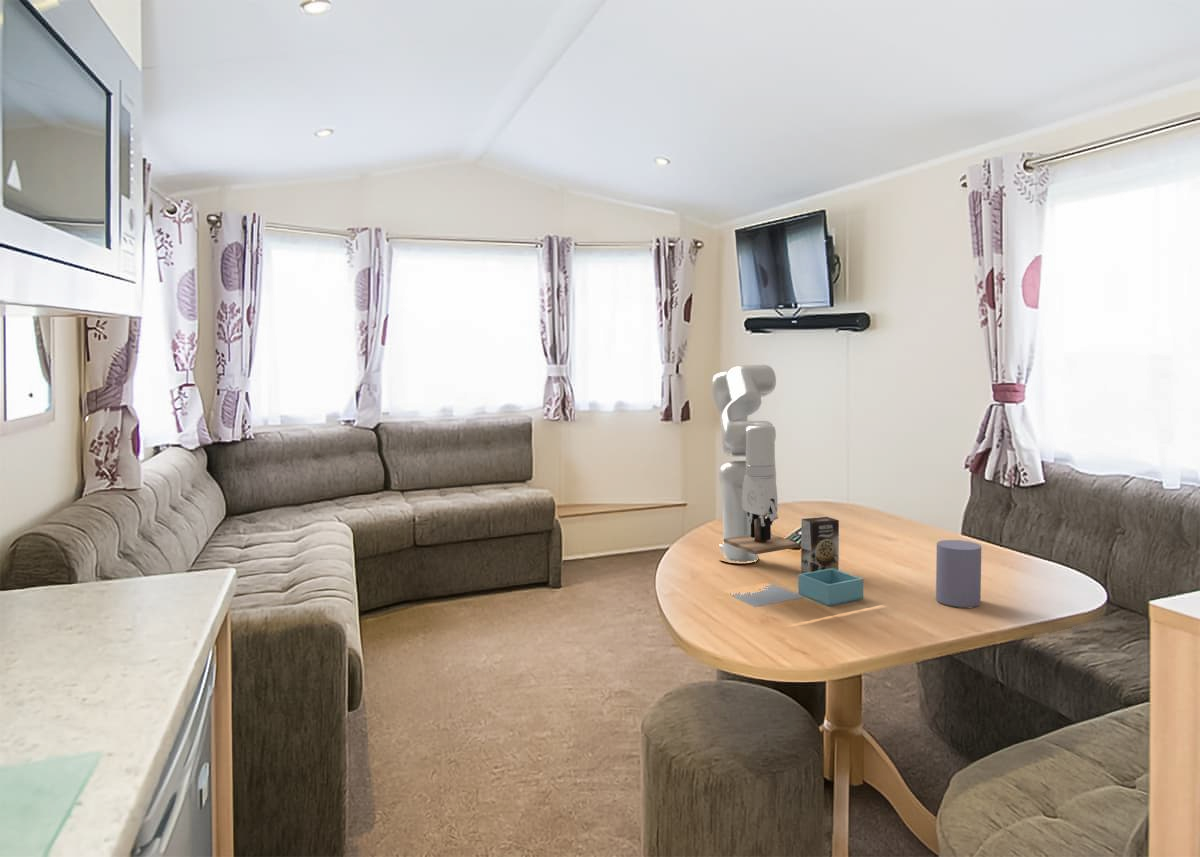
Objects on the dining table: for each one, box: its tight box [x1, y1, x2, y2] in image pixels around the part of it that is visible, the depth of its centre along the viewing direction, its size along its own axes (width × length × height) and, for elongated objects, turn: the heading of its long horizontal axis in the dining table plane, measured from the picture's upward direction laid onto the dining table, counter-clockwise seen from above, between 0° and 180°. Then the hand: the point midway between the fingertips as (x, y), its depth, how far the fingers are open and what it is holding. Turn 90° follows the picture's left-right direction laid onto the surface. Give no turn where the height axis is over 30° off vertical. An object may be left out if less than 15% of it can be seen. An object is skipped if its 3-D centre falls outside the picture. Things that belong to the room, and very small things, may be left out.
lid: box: [724, 517, 799, 555], centre depth 202 cm, size 14×14×7 cm
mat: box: [729, 583, 805, 608], centre depth 203 cm, size 16×16×1 cm
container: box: [935, 539, 982, 608], centre depth 193 cm, size 10×10×15 cm
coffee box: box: [800, 516, 840, 573], centre depth 223 cm, size 9×6×16 cm
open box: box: [797, 568, 864, 607], centre depth 199 cm, size 12×12×6 cm
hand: (760, 537), depth 202 cm, fingers closed on lid, 3 cm apart
